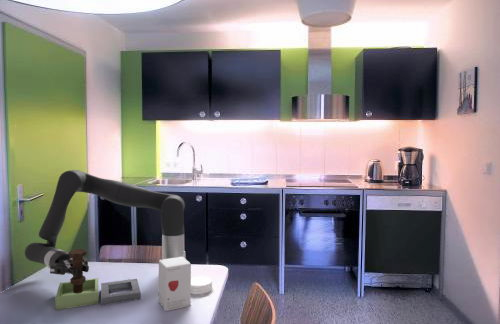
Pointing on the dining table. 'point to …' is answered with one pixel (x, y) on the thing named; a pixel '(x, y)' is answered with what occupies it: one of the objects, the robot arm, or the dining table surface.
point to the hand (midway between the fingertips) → (82, 270)
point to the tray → (77, 295)
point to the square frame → (122, 296)
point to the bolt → (78, 264)
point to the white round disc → (200, 285)
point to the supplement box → (174, 283)
